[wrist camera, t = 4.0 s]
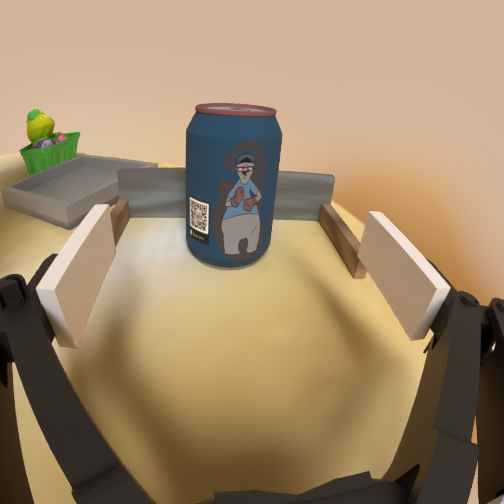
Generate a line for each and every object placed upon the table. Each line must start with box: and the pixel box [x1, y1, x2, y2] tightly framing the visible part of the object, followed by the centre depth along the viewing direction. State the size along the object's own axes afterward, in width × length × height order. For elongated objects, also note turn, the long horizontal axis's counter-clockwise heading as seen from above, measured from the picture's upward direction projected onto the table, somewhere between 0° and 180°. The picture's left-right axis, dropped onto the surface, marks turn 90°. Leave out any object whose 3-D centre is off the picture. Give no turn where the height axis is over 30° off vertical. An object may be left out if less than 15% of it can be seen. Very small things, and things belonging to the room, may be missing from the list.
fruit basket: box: [20, 109, 80, 175], centre depth 44 cm, size 11×9×11 cm
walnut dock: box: [110, 168, 367, 278], centre depth 27 cm, size 12×22×5 cm, turn 96°
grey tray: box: [2, 155, 158, 230], centre depth 36 cm, size 16×16×2 cm
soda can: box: [186, 103, 282, 270], centre depth 24 cm, size 7×7×12 cm
